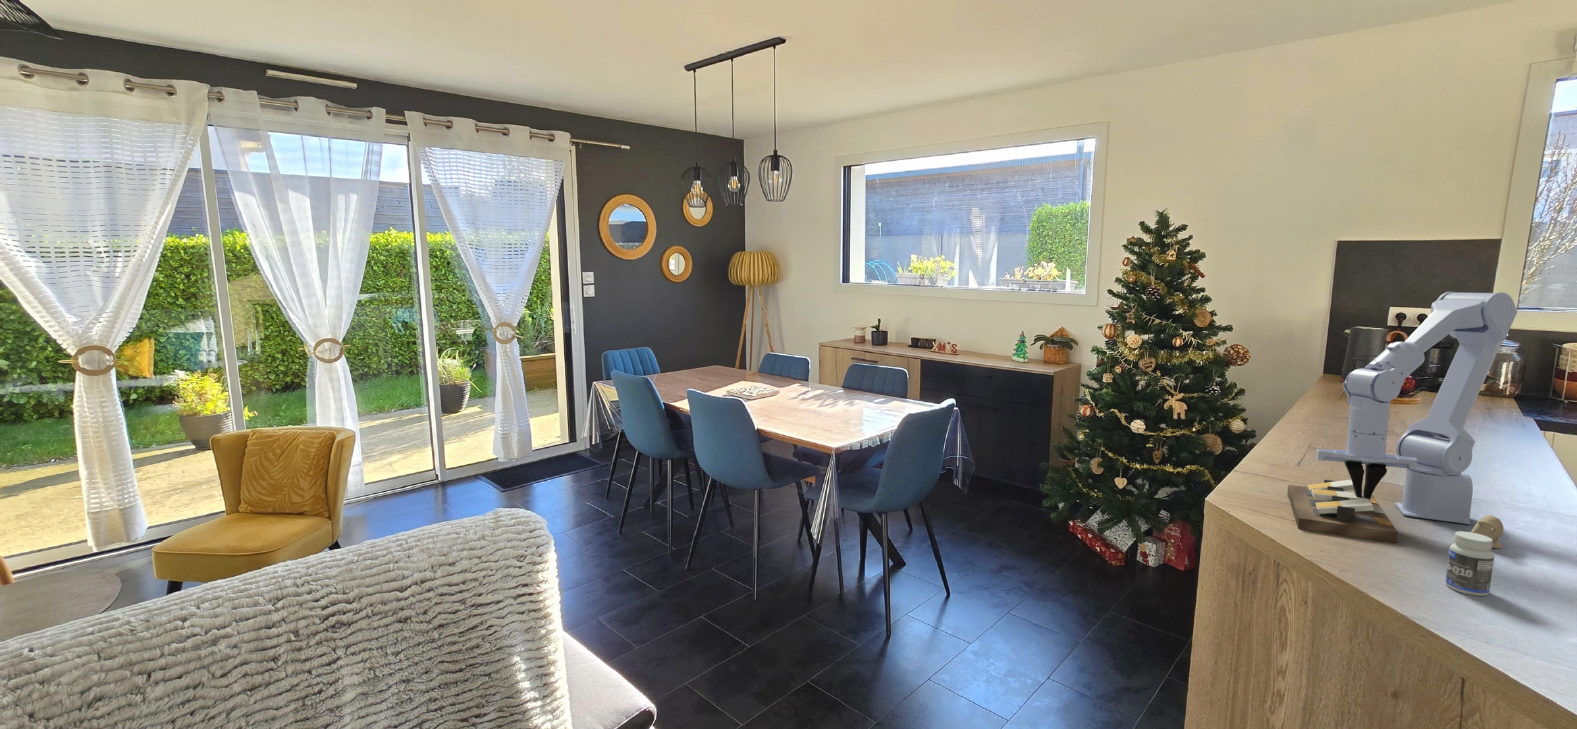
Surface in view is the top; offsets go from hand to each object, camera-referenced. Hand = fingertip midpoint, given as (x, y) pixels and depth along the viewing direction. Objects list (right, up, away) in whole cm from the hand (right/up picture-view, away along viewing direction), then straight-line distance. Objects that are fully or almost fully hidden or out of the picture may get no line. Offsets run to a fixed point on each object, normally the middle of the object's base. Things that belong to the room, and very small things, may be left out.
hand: (1361, 500), depth 131 cm
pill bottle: (-9, -8, -29) cm, 31 cm away
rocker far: (+1, +1, +8) cm, 8 cm away
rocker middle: (-3, 0, +2) cm, 4 cm away
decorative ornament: (+11, -6, -12) cm, 17 cm away
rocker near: (-7, 0, -4) cm, 8 cm away
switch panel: (-3, -4, +2) cm, 5 cm away
